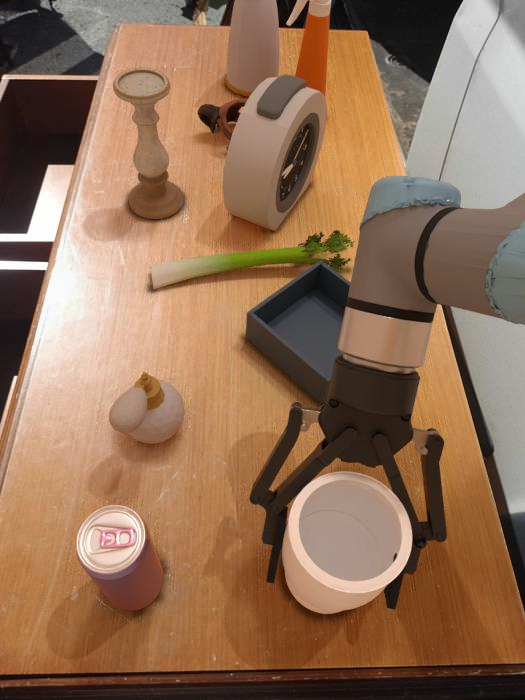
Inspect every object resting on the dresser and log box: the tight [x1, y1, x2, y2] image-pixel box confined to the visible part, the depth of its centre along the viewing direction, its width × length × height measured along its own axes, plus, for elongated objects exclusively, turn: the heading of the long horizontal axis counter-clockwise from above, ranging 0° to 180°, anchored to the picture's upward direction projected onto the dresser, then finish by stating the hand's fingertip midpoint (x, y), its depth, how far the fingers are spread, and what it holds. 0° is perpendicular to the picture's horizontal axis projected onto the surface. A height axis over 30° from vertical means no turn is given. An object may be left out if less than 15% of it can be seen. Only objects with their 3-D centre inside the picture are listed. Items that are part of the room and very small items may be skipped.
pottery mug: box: [197, 98, 248, 151], centre depth 100 cm, size 12×10×8 cm
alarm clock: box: [221, 73, 328, 231], centre depth 85 cm, size 21×8×20 cm, turn 153°
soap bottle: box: [224, 0, 280, 98], centre depth 103 cm, size 11×12×26 cm
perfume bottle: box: [108, 371, 186, 445], centre depth 62 cm, size 8×10×12 cm
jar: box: [280, 470, 412, 615], centre depth 53 cm, size 11×10×15 cm
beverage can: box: [75, 504, 164, 612], centre depth 52 cm, size 6×6×15 cm
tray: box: [245, 260, 351, 405], centre depth 74 cm, size 14×14×6 cm
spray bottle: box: [285, 0, 332, 97], centre depth 96 cm, size 7×11×26 cm, turn 132°
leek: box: [149, 229, 356, 290], centre depth 82 cm, size 6×7×30 cm
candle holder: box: [112, 67, 184, 220], centre depth 83 cm, size 9×9×20 cm
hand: (329, 587), depth 53 cm, fingers closed on jar, 11 cm apart
